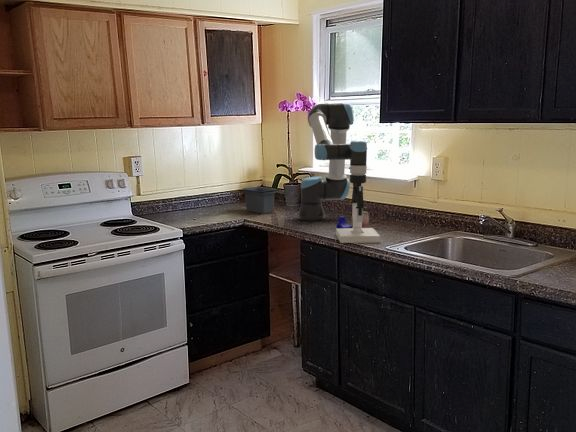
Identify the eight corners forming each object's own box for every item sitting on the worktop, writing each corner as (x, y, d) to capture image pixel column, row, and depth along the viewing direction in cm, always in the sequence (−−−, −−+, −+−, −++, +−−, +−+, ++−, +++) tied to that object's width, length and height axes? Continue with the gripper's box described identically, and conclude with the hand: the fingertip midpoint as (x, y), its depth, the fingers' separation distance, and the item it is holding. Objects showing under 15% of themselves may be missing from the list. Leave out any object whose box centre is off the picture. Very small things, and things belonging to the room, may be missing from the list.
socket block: (336, 234, 270) (336, 228, 269) (372, 234, 270) (372, 227, 270) (340, 242, 252) (340, 236, 252) (379, 242, 253) (379, 235, 252)
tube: (360, 239, 259) (360, 207, 256) (351, 238, 260) (351, 207, 258) (362, 237, 262) (363, 206, 260) (354, 236, 264) (354, 205, 261)
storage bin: (240, 211, 339) (239, 187, 336) (260, 208, 349) (259, 185, 346) (261, 215, 323) (261, 191, 320) (282, 212, 333) (281, 188, 330)
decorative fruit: (371, 227, 286) (371, 208, 284) (367, 230, 279) (367, 210, 277) (353, 226, 290) (353, 207, 288) (349, 229, 282) (349, 209, 280)
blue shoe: (336, 228, 284) (336, 217, 283) (342, 227, 287) (342, 216, 286) (353, 232, 275) (353, 220, 274) (359, 231, 278) (360, 219, 277)
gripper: (346, 171, 268) (345, 214, 272) (353, 177, 243) (353, 224, 248) (361, 171, 268) (361, 214, 272) (370, 177, 244) (369, 224, 248)
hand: (357, 219), depth 260 cm, fingers open, 13 cm apart
